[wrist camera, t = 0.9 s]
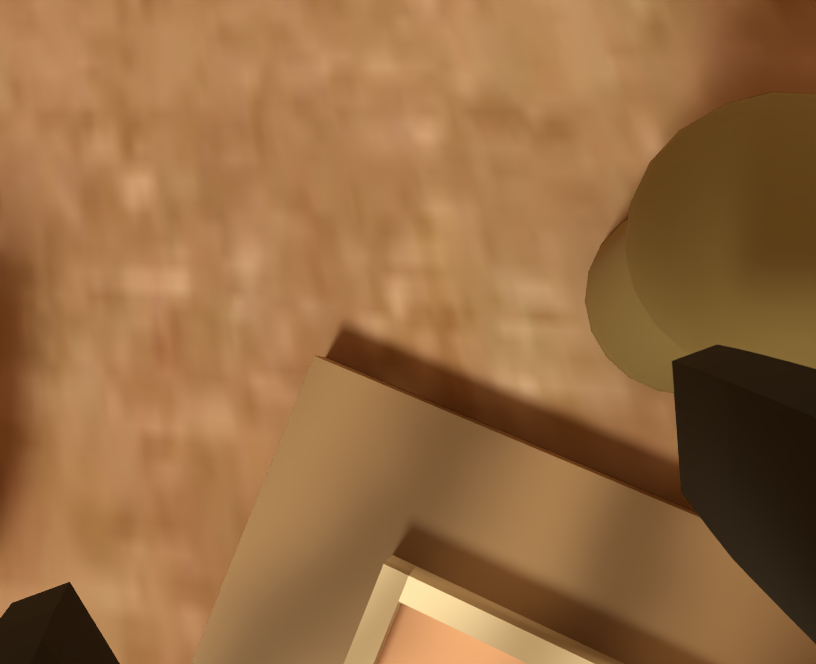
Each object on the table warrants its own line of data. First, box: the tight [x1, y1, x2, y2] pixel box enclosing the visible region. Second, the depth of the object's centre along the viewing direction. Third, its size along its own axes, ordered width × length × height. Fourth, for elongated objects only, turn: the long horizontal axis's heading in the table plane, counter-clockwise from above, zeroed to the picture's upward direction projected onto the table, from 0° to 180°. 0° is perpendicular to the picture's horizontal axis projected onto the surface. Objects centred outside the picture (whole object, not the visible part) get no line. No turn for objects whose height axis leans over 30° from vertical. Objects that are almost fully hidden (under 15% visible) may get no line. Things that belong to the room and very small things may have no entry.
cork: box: [585, 92, 816, 393], centre depth 18 cm, size 6×6×11 cm
